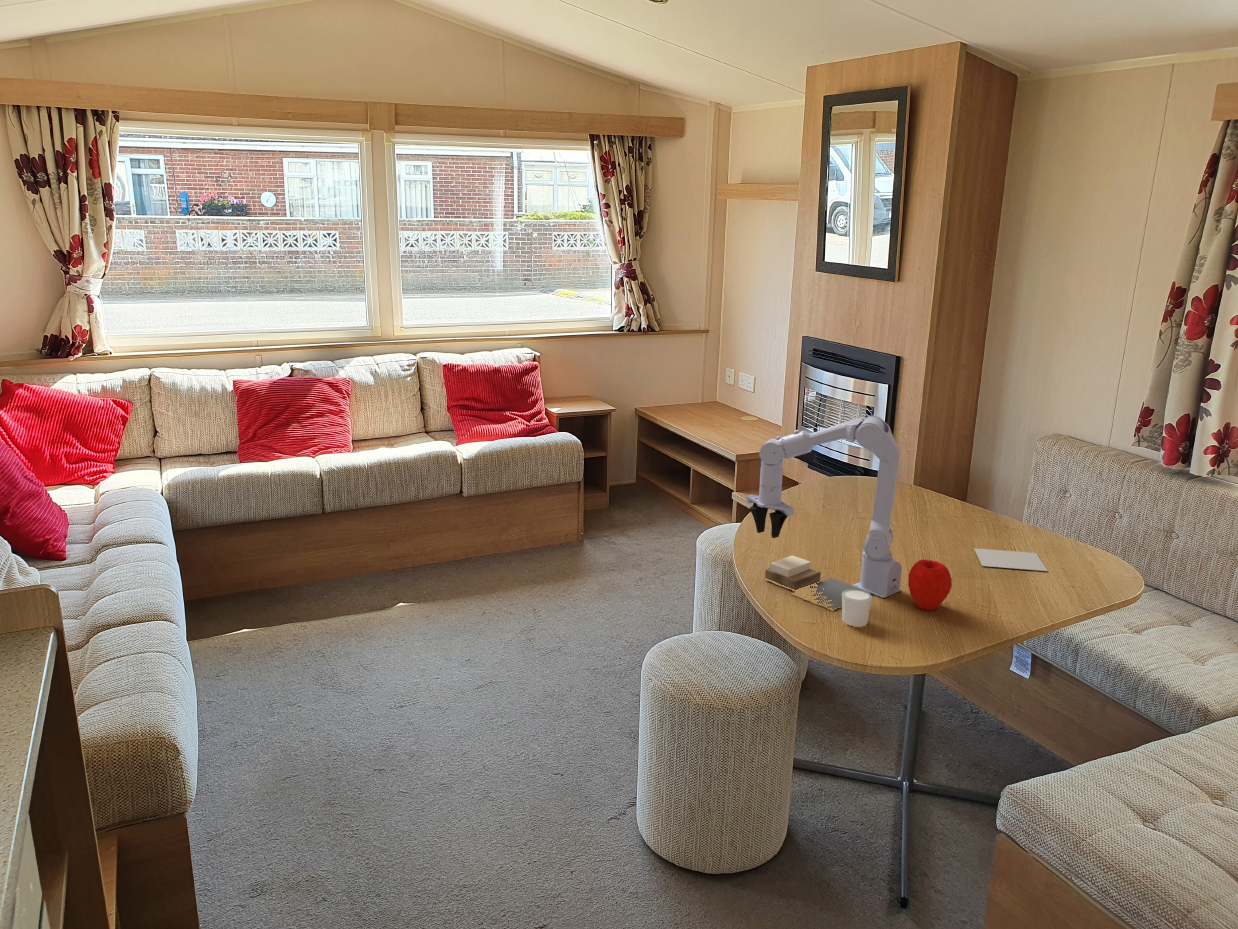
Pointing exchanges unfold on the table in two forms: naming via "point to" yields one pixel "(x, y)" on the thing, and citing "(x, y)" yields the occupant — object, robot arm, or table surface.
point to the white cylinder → (856, 607)
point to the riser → (795, 578)
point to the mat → (833, 591)
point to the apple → (929, 583)
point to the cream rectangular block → (790, 566)
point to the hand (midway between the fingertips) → (767, 534)
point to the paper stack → (1010, 559)
